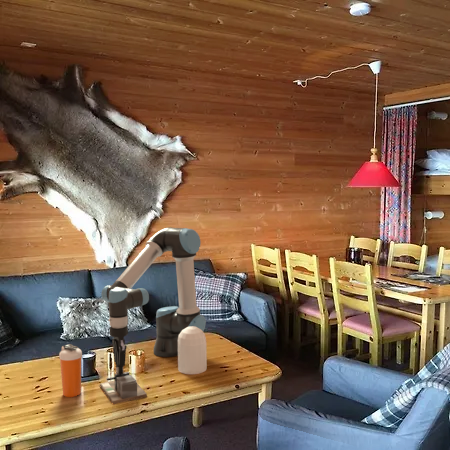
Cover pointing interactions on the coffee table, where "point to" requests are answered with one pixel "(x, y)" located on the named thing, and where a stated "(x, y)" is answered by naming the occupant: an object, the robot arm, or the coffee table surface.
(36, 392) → the coffee table surface
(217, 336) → the coffee table surface
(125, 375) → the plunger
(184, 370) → the container
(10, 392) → the coffee table surface
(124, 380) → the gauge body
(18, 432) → the coffee table surface
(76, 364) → the shaker bottle
